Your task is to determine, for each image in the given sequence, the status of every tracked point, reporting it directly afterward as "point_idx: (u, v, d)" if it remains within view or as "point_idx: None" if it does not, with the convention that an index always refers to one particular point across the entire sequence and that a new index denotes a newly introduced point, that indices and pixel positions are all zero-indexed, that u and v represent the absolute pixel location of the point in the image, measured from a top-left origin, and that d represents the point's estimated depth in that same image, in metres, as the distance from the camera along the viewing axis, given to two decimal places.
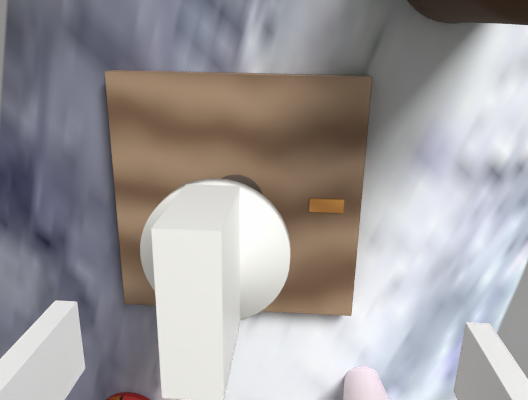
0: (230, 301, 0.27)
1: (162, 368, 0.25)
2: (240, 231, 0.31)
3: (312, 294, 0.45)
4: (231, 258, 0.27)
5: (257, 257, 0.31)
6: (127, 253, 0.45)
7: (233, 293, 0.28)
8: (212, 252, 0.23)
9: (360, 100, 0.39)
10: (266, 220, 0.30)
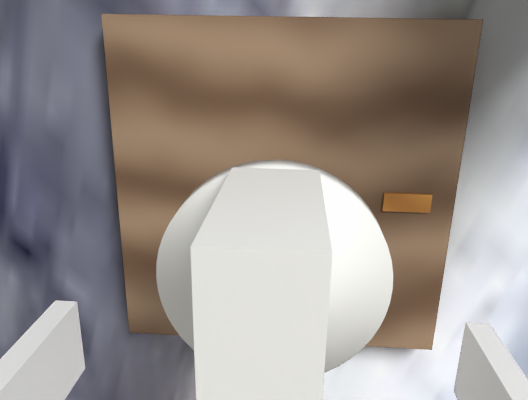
0: None
1: None
2: None
3: None
4: None
5: (341, 283, 0.20)
6: (133, 266, 0.33)
7: None
8: (311, 293, 0.12)
9: (463, 53, 0.27)
10: (359, 226, 0.19)
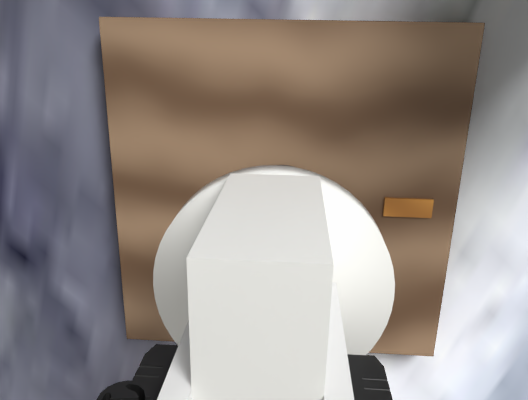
0: None
1: None
2: None
3: None
4: None
5: (341, 291, 0.19)
6: (130, 272, 0.33)
7: None
8: (311, 306, 0.11)
9: (465, 57, 0.27)
10: (360, 233, 0.18)
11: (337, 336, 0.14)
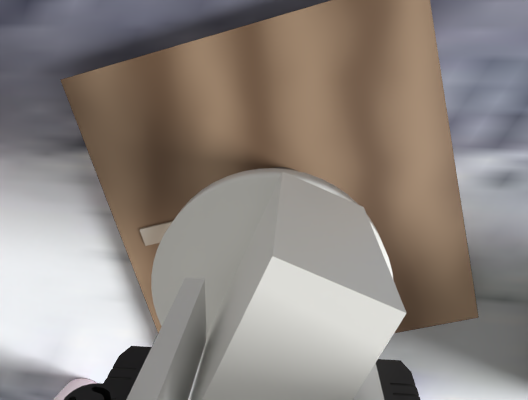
0: None
1: None
2: None
3: None
4: None
5: None
6: (146, 67, 0.28)
7: None
8: (367, 342, 0.11)
9: (449, 312, 0.32)
10: None
11: None
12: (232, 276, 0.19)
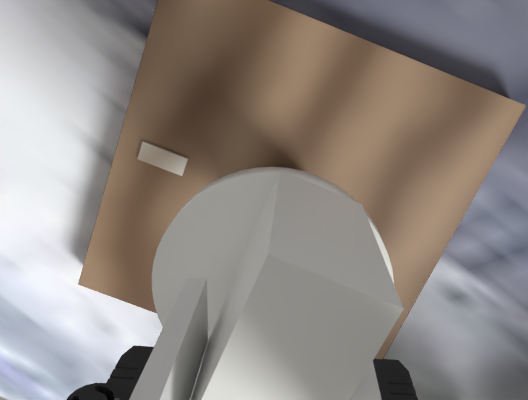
0: None
1: None
2: None
3: (119, 249, 0.32)
4: None
5: None
6: (256, 9, 0.27)
7: None
8: (365, 338, 0.11)
9: None
10: None
11: None
12: (232, 275, 0.19)
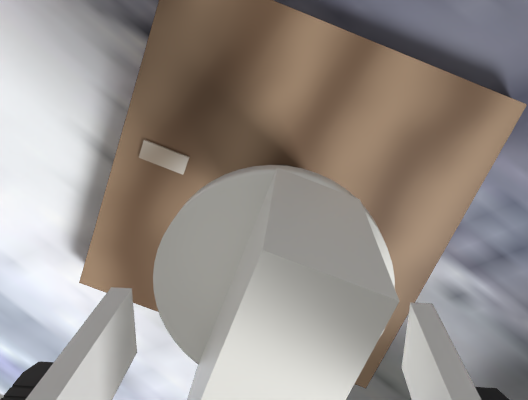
0: None
1: None
2: None
3: (121, 247, 0.32)
4: None
5: None
6: (257, 8, 0.27)
7: None
8: (361, 331, 0.11)
9: None
10: None
11: (457, 367, 0.13)
12: (233, 274, 0.19)
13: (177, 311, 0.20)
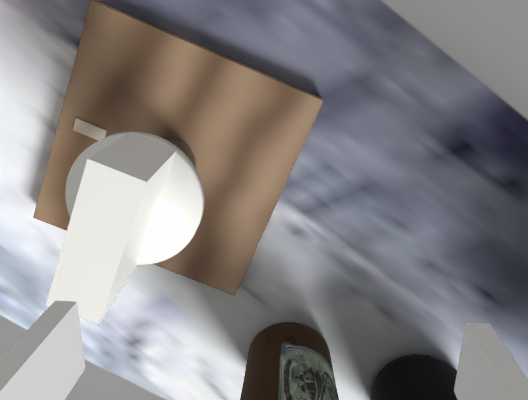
0: (134, 243, 0.30)
1: (55, 280, 0.28)
2: (163, 189, 0.34)
3: (62, 192, 0.47)
4: (147, 208, 0.30)
5: (170, 216, 0.35)
6: (148, 33, 0.41)
7: (138, 238, 0.32)
8: (133, 196, 0.26)
9: (220, 283, 0.49)
10: (189, 187, 0.34)
11: None
12: None
13: None
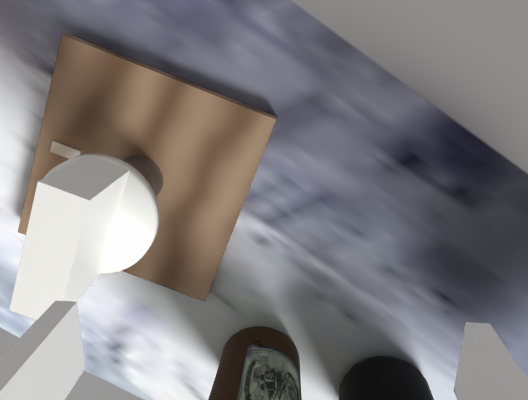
0: (88, 254, 0.34)
1: (16, 287, 0.32)
2: (120, 205, 0.38)
3: None
4: (99, 222, 0.34)
5: (127, 228, 0.38)
6: (114, 63, 0.46)
7: (95, 249, 0.36)
8: (79, 213, 0.30)
9: (191, 290, 0.53)
10: (142, 202, 0.38)
11: None
12: None
13: None
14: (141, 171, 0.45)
